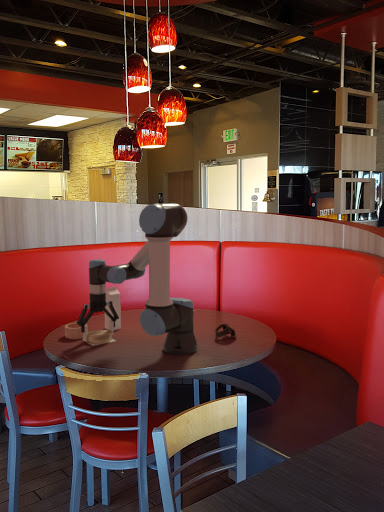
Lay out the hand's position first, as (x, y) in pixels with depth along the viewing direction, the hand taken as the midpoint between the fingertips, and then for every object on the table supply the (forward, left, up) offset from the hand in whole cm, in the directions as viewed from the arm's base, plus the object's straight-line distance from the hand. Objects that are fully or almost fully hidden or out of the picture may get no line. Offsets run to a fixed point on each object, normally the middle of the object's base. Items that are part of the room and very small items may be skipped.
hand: (98, 336), depth 222 cm
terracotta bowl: (+13, +6, -2) cm, 14 cm away
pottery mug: (-32, -52, -2) cm, 61 cm away
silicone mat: (0, 0, -2) cm, 2 cm away
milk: (+14, -14, -2) cm, 20 cm away
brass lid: (0, 0, -2) cm, 2 cm away
